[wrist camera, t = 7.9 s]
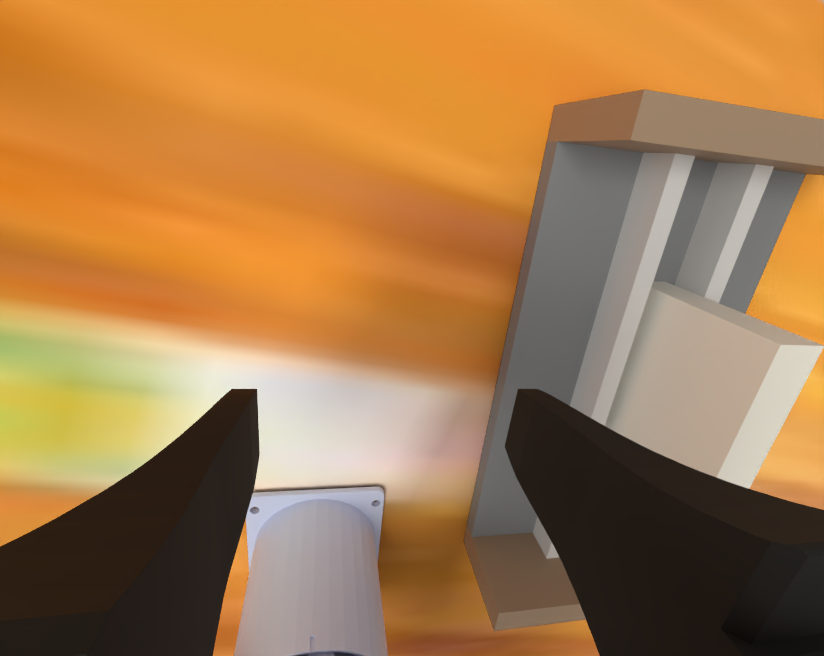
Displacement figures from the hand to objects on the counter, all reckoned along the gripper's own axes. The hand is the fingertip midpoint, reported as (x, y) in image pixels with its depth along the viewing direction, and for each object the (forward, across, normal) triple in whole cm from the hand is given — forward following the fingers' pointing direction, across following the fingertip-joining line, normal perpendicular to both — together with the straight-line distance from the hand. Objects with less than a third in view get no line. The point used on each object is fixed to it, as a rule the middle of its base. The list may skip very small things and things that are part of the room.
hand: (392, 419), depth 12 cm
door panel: (+9, -15, +4) cm, 18 cm away
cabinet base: (+10, -15, +4) cm, 19 cm away
